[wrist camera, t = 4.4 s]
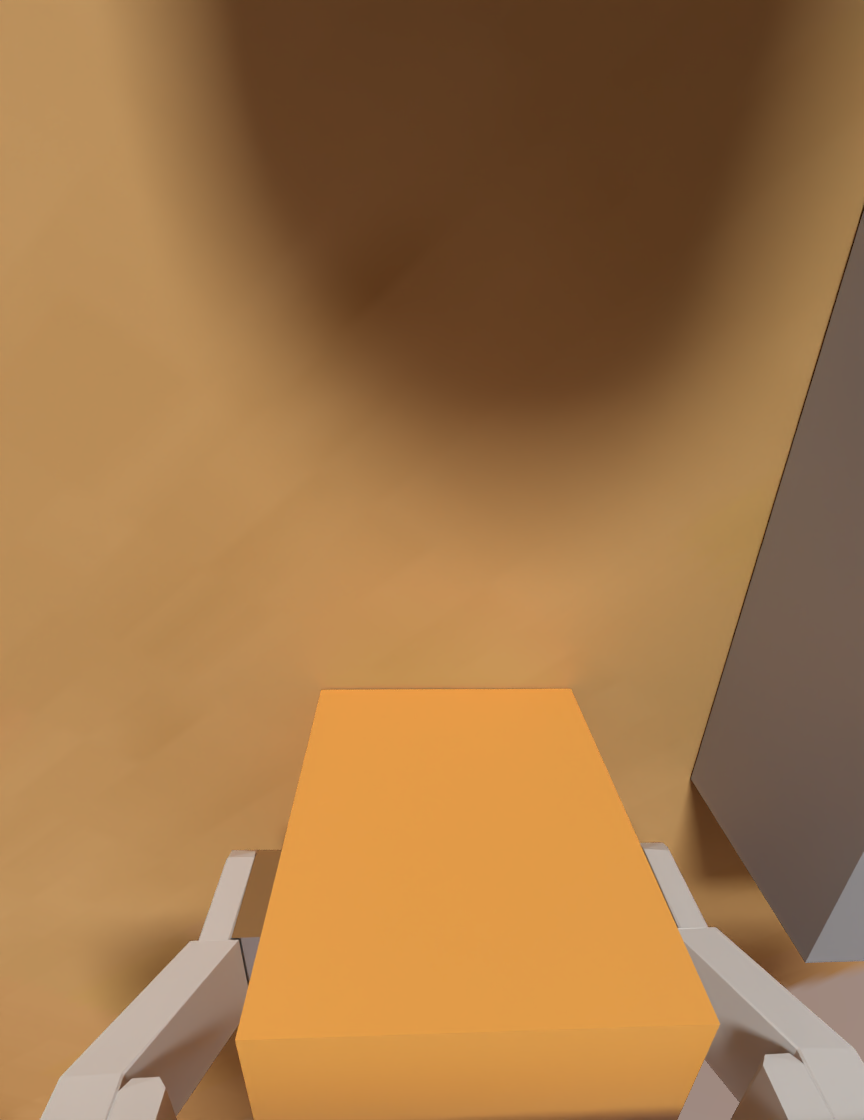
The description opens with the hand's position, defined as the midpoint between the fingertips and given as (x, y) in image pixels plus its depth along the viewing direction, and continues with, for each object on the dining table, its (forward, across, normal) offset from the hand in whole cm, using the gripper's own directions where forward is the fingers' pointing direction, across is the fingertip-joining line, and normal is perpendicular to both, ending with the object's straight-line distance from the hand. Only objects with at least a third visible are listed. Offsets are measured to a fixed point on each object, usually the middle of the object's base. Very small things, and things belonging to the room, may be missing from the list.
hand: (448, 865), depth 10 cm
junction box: (+2, -14, -7) cm, 16 cm away
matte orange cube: (+2, 0, 0) cm, 2 cm away
